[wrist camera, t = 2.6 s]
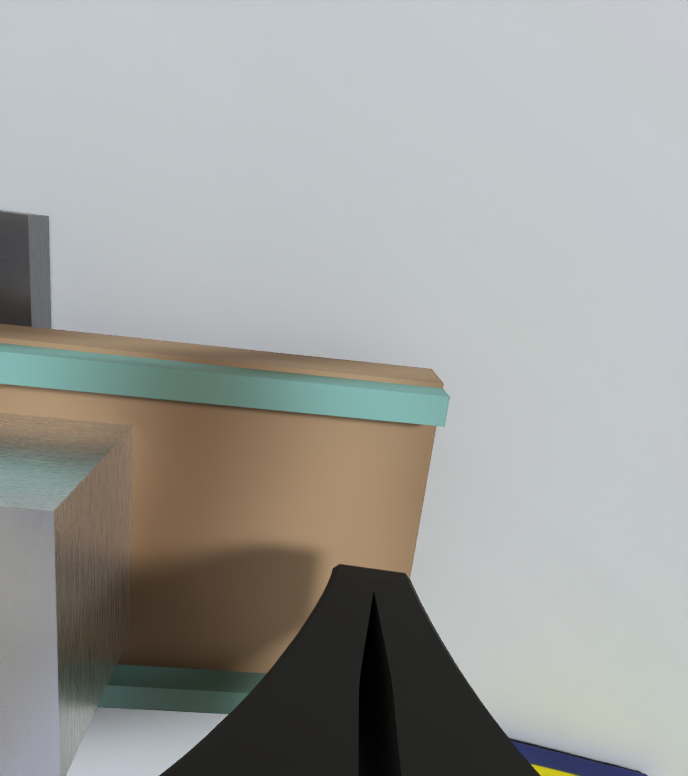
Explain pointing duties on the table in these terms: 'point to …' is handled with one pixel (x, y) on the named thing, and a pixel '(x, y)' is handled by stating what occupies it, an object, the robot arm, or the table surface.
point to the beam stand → (24, 270)
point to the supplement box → (567, 763)
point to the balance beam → (236, 491)
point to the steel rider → (60, 582)
